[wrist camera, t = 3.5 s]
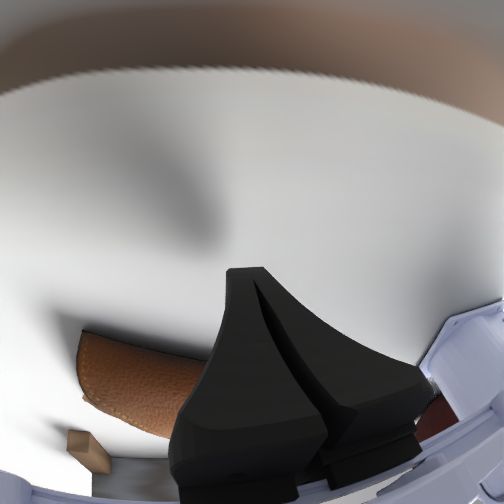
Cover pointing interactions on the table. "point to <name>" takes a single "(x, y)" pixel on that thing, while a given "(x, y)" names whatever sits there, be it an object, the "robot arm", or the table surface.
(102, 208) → the table surface
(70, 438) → the dock
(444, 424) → the potato
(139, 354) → the sunglasses case
